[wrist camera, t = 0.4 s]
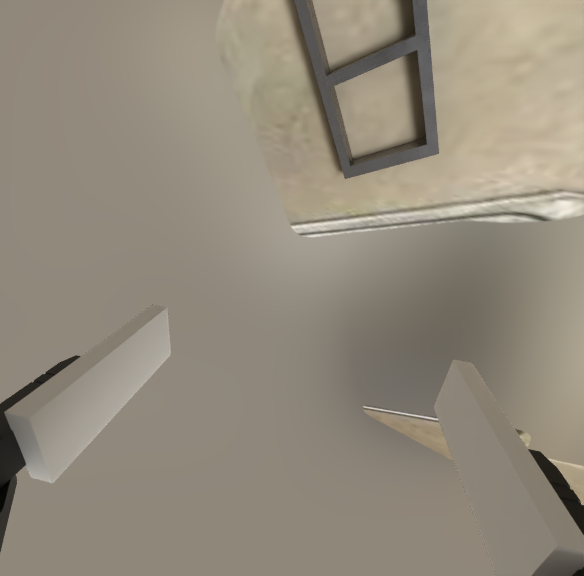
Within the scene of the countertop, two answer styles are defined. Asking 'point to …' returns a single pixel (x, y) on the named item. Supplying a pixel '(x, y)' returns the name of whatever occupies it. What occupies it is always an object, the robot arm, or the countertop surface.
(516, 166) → the countertop surface
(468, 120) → the countertop surface
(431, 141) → the grey flat rectangular frame
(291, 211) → the countertop surface
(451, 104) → the countertop surface
